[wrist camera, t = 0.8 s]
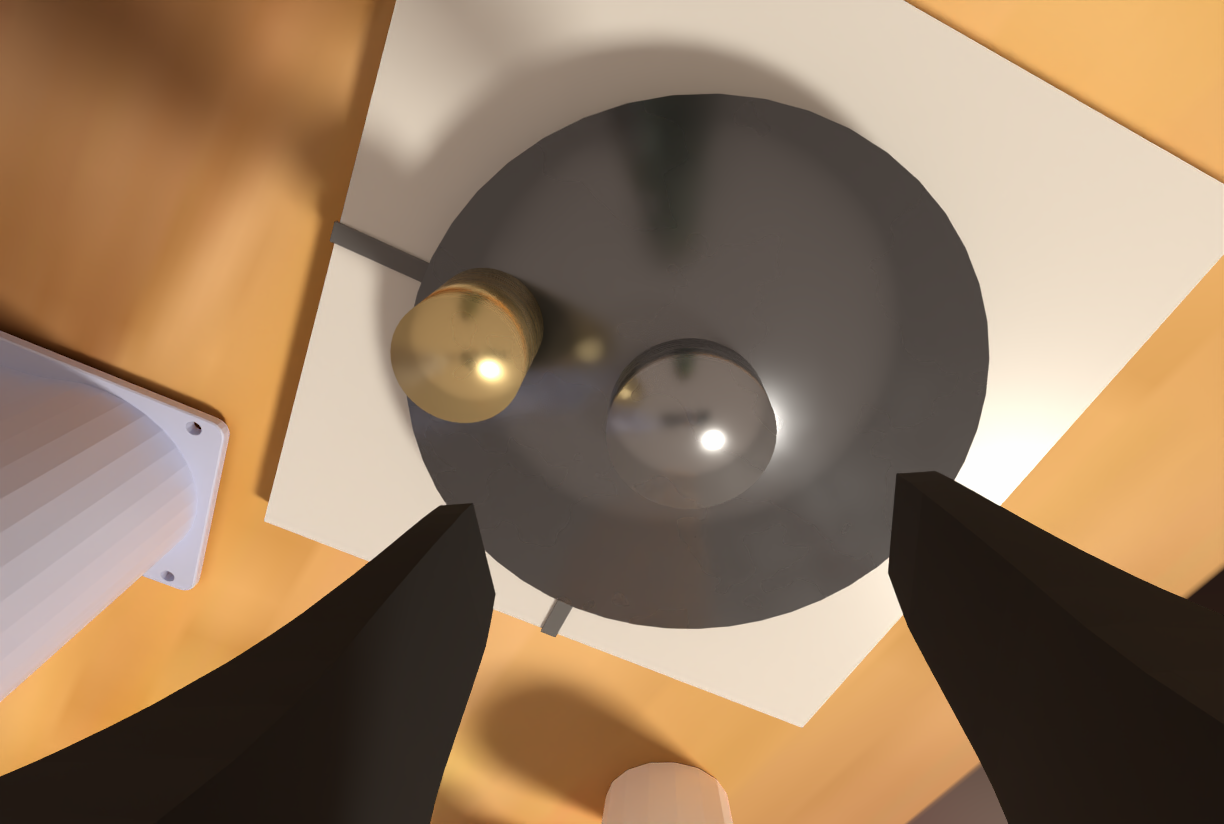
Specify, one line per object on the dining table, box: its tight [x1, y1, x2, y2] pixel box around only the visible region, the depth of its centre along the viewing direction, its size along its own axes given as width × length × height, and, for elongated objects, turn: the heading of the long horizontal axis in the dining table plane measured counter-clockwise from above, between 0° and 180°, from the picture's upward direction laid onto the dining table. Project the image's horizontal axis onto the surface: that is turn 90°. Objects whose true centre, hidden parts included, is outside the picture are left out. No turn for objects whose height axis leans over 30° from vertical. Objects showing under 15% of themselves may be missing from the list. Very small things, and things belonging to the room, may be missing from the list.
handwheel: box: [390, 94, 989, 629], centre depth 17 cm, size 16×16×4 cm
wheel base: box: [264, 0, 1224, 728], centre depth 19 cm, size 22×22×1 cm
